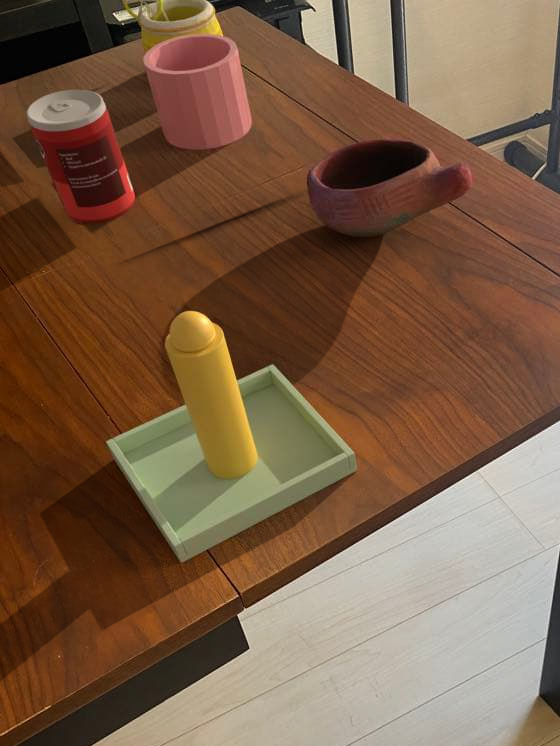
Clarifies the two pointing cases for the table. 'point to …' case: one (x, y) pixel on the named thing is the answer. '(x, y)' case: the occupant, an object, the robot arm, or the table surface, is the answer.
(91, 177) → the canned food
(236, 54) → the pot
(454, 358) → the table surface
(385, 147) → the bowl
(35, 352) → the table surface
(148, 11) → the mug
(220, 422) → the bottle
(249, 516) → the tray
